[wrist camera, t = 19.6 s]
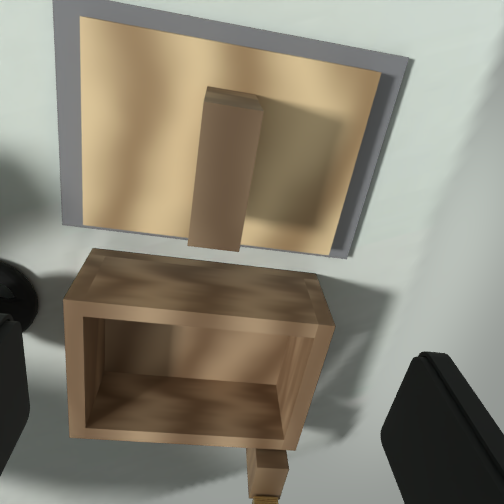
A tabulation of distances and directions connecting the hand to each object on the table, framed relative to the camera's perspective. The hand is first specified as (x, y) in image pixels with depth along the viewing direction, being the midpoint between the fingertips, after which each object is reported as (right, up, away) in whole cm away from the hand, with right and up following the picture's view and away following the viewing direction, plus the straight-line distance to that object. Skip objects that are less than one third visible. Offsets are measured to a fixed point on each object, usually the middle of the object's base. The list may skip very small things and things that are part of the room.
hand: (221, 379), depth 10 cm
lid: (-1, +10, +19) cm, 22 cm away
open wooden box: (-4, -5, +28) cm, 29 cm away
